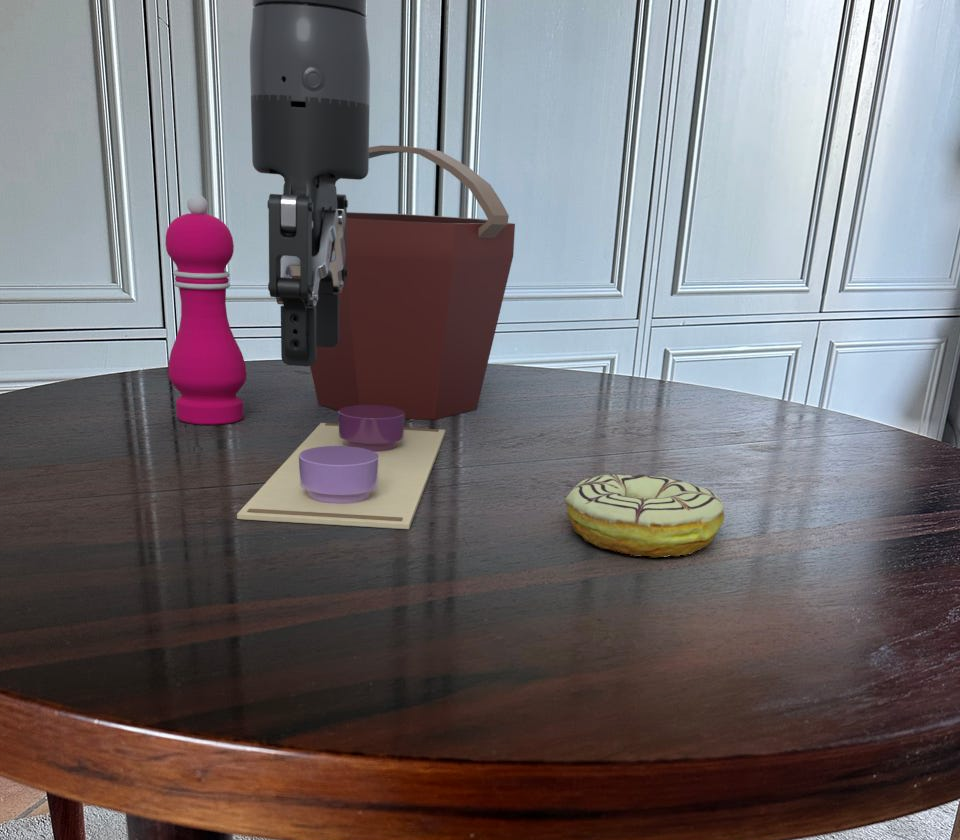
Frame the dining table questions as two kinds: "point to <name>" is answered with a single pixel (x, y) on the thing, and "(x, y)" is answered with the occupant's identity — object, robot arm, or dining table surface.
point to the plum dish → (371, 426)
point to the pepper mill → (204, 320)
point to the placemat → (383, 509)
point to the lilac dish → (339, 473)
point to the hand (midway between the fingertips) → (311, 355)
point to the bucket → (418, 305)
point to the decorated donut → (644, 514)
